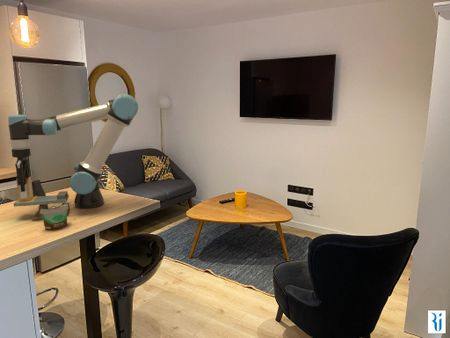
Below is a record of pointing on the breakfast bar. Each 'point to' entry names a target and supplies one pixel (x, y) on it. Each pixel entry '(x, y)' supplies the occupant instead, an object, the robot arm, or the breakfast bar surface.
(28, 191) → the wooden block
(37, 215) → the beam stand
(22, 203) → the beam
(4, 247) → the breakfast bar surface
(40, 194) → the phone stand
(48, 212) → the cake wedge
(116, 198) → the breakfast bar surface
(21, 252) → the breakfast bar surface
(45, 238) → the breakfast bar surface
